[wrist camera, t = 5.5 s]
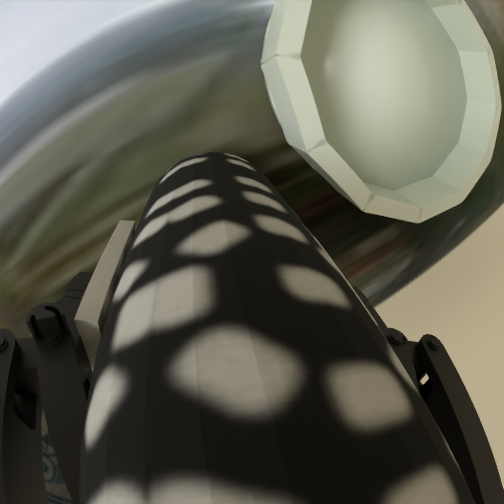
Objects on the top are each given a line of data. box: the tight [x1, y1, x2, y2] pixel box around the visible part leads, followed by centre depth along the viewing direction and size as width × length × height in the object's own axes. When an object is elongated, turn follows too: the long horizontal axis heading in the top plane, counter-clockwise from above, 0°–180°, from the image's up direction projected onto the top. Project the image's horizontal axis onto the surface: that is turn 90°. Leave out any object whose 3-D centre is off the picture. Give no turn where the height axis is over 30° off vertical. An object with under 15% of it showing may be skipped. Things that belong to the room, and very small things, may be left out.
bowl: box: [261, 0, 501, 223], centre depth 14 cm, size 20×20×4 cm
